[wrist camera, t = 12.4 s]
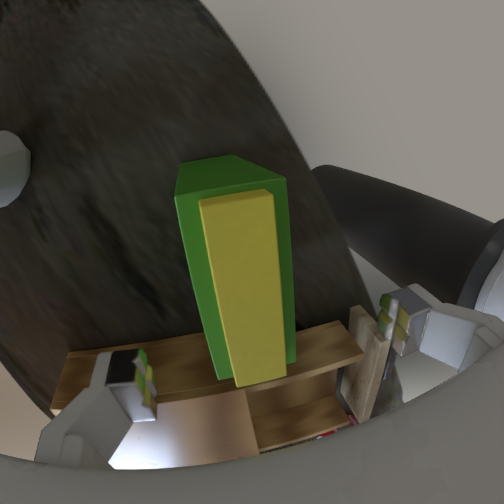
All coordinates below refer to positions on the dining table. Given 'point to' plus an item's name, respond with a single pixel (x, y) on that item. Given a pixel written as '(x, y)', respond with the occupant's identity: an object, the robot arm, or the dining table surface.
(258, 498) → the robot arm
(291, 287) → the green box yellow lid
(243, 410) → the cabinet
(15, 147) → the salt shaker
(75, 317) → the dining table surface
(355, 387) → the drawer
